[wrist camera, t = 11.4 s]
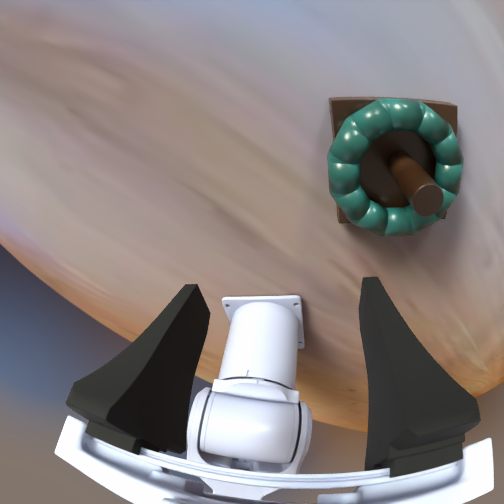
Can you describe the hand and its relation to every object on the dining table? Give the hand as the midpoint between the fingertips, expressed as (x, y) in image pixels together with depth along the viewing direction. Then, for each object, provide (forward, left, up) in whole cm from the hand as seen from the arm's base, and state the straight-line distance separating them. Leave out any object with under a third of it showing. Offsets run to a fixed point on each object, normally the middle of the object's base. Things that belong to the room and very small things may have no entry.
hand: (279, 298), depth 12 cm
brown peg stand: (+2, -8, -10) cm, 13 cm away
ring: (+2, -8, -8) cm, 11 cm away
